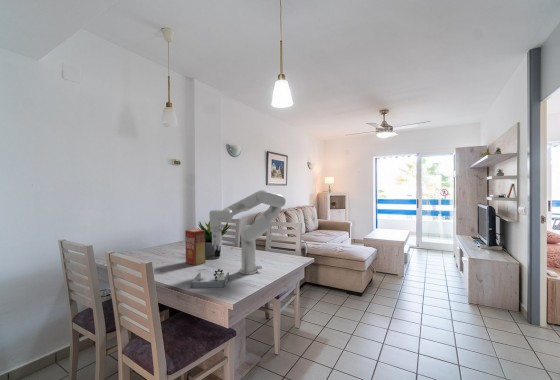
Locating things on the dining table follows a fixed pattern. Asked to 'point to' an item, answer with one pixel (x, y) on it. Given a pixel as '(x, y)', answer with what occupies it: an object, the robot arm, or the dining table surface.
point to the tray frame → (208, 282)
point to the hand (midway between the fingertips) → (217, 256)
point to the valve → (219, 275)
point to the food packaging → (195, 246)
